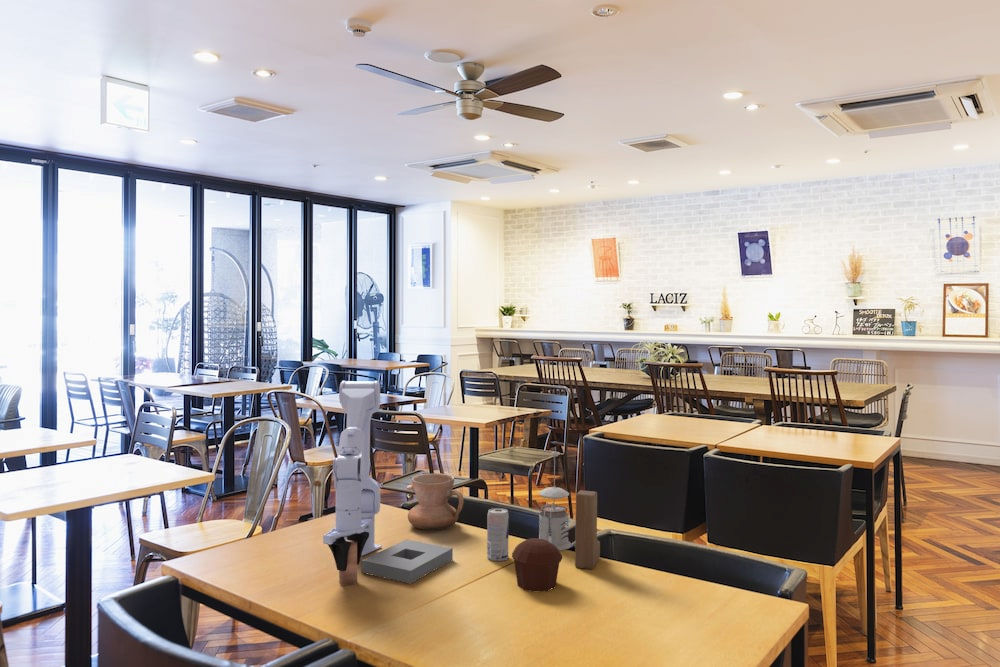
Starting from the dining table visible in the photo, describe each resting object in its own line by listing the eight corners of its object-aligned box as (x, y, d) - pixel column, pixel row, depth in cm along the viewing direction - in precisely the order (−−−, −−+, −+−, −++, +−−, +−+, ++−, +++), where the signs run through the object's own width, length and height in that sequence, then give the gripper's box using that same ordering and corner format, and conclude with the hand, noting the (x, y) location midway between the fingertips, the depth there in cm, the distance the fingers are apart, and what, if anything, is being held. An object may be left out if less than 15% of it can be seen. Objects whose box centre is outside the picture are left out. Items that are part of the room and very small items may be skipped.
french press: (575, 541, 194) (576, 449, 193) (565, 554, 183) (566, 457, 182) (540, 537, 197) (541, 446, 196) (528, 550, 186) (529, 454, 185)
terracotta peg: (335, 583, 162) (335, 543, 161) (347, 577, 165) (347, 539, 165) (349, 586, 160) (349, 546, 159) (360, 580, 163) (360, 541, 163)
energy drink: (509, 554, 182) (509, 508, 181) (507, 562, 176) (507, 514, 176) (488, 554, 182) (488, 507, 182) (485, 561, 177) (486, 513, 177)
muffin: (572, 584, 162) (573, 541, 162) (541, 598, 154) (541, 552, 154) (532, 571, 170) (533, 529, 170) (500, 583, 162) (501, 540, 162)
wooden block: (582, 556, 181) (583, 485, 181) (600, 558, 180) (601, 487, 180) (574, 567, 173) (575, 494, 172) (593, 570, 171) (593, 495, 171)
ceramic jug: (394, 529, 202) (394, 479, 202) (420, 516, 216) (420, 469, 215) (449, 538, 195) (450, 486, 195) (473, 524, 208) (474, 475, 208)
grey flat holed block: (361, 572, 168) (361, 560, 168) (406, 550, 184) (406, 539, 184) (410, 583, 162) (410, 570, 161) (452, 560, 177) (452, 548, 177)
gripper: (340, 518, 154) (340, 580, 154) (382, 502, 166) (382, 560, 167) (315, 513, 157) (315, 574, 157) (358, 498, 170) (358, 555, 170)
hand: (348, 567), depth 162 cm, fingers closed on terracotta peg, 4 cm apart
